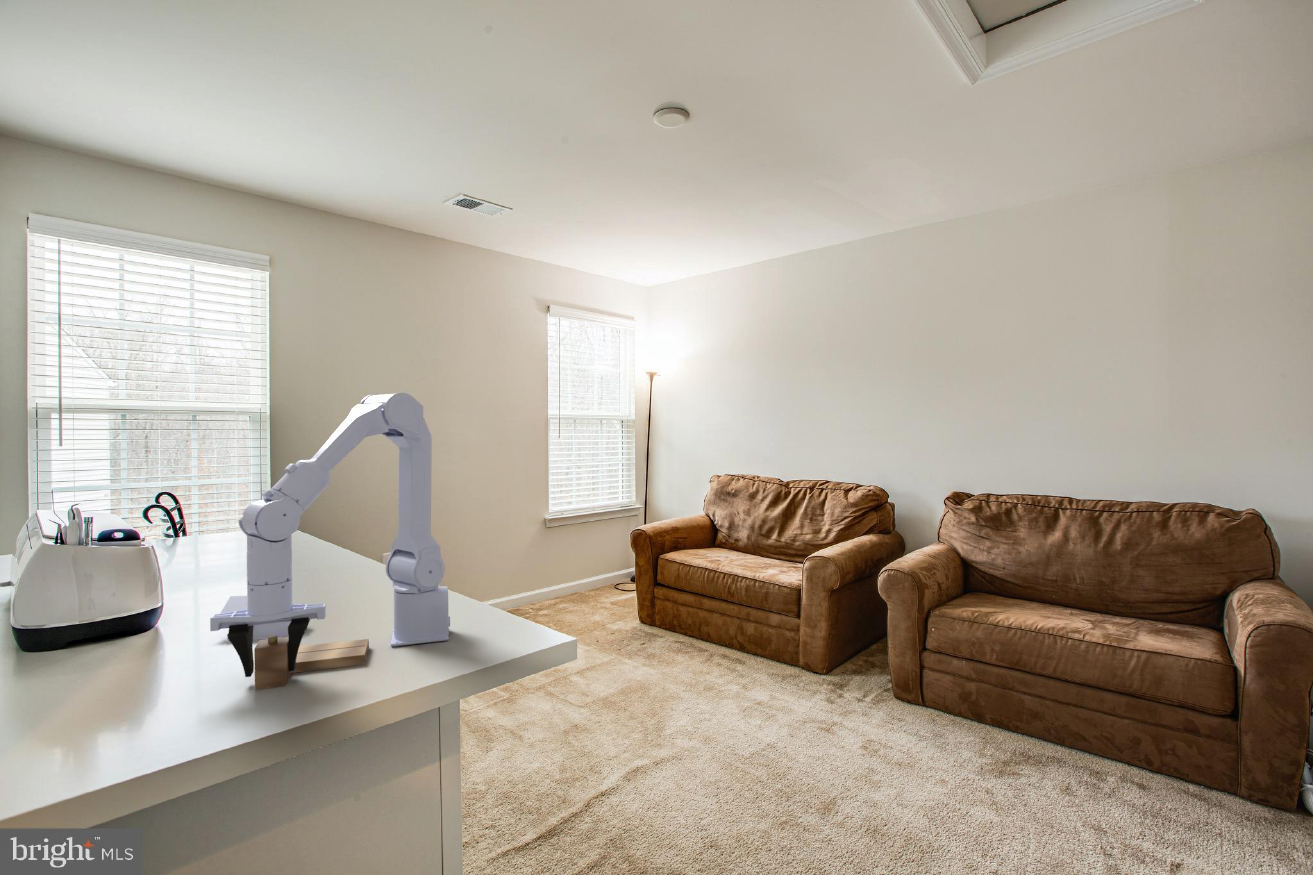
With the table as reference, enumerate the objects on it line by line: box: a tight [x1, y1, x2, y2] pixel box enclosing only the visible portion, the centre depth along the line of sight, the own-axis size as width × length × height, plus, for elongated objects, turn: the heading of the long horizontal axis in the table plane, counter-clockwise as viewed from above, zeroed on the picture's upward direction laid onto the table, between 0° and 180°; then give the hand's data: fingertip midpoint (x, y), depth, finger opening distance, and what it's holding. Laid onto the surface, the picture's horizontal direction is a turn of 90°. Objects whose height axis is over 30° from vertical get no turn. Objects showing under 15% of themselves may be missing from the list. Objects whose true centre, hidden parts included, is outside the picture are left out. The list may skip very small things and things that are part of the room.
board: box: [291, 638, 370, 674], centre depth 101 cm, size 14×8×2 cm, turn 110°
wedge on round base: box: [219, 595, 291, 640], centre depth 116 cm, size 9×7×13 cm
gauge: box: [253, 636, 292, 691], centre depth 94 cm, size 4×9×7 cm, turn 24°
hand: (271, 671), depth 93 cm, fingers open, 5 cm apart
